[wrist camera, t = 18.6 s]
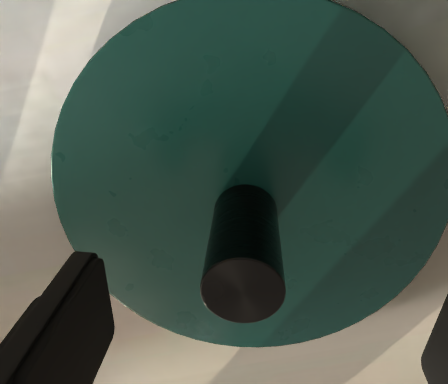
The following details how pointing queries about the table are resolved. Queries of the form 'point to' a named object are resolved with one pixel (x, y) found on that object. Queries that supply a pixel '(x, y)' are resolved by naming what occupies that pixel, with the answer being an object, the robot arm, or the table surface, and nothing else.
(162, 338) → the table surface
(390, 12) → the table surface
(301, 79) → the lid
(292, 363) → the table surface
